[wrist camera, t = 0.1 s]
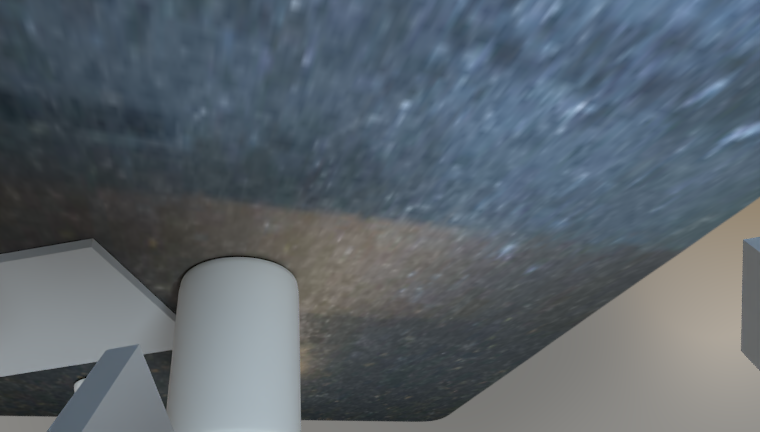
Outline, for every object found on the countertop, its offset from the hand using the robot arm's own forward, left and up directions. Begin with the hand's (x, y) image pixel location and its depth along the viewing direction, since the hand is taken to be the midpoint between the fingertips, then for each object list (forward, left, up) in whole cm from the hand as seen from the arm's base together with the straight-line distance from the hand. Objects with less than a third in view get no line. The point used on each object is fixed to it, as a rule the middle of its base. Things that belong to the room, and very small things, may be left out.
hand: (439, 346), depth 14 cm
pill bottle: (+23, -13, -16) cm, 31 cm away
